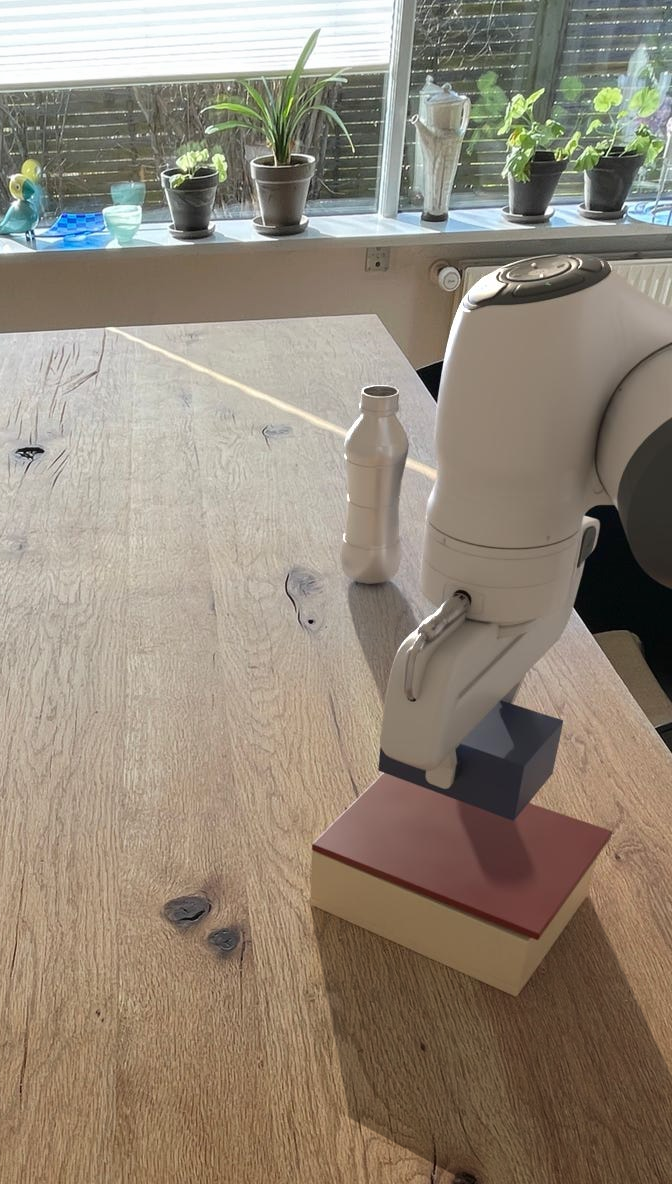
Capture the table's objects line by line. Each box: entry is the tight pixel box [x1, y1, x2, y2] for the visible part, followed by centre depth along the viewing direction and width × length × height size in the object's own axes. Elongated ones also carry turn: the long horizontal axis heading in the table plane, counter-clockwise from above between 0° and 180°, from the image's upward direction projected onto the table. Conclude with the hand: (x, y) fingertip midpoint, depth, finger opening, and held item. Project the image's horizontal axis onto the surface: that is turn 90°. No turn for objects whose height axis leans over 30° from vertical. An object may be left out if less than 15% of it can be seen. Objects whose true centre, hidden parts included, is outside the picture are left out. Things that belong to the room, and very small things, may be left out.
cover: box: [311, 772, 613, 940], centre depth 81 cm, size 17×13×1 cm
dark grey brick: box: [377, 700, 564, 821], centre depth 76 cm, size 10×6×4 cm, turn 53°
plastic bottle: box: [339, 384, 410, 585], centre depth 118 cm, size 6×7×20 cm
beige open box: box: [309, 850, 598, 998], centre depth 83 cm, size 17×13×5 cm
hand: (468, 752), depth 76 cm, fingers closed on dark grey brick, 6 cm apart
